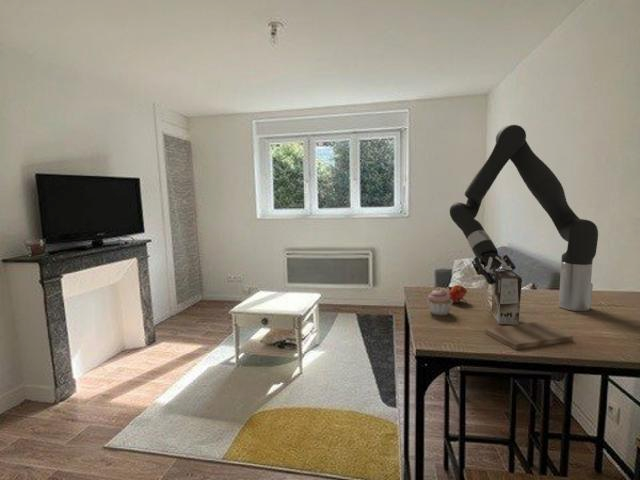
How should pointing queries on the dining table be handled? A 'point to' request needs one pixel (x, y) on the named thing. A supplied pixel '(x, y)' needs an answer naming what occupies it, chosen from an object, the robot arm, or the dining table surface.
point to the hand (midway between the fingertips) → (503, 282)
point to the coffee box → (506, 297)
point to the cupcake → (439, 302)
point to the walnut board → (528, 335)
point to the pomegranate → (456, 293)
